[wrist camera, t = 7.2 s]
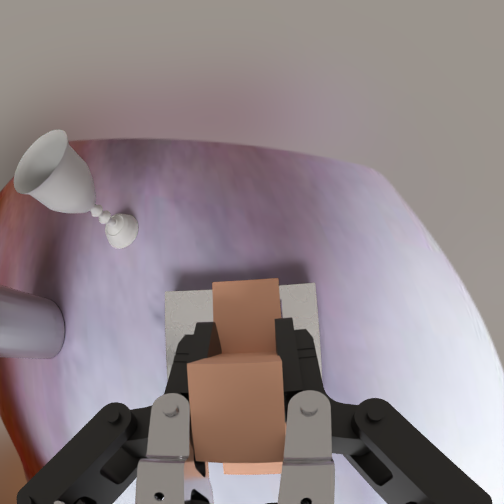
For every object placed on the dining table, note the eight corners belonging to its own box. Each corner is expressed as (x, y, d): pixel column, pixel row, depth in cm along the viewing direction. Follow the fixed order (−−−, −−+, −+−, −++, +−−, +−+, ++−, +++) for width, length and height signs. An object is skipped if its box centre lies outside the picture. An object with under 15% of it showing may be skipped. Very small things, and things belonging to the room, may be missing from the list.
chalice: (96, 251, 34) (4, 194, 17) (109, 207, 36) (33, 135, 19) (138, 258, 33) (46, 193, 16) (151, 210, 35) (79, 124, 18)
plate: (179, 410, 28) (170, 416, 25) (174, 295, 32) (165, 291, 29) (318, 406, 27) (323, 413, 24) (310, 287, 31) (315, 282, 28)
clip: (242, 422, 18) (200, 532, 5) (236, 304, 21) (177, 248, 8) (282, 421, 18) (295, 534, 5) (275, 302, 21) (282, 240, 8)
